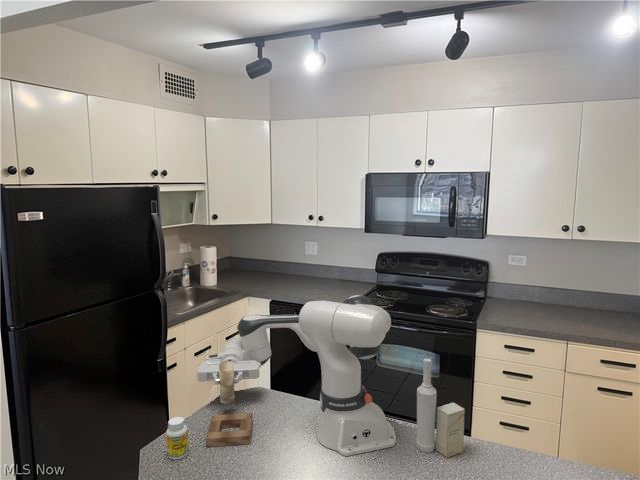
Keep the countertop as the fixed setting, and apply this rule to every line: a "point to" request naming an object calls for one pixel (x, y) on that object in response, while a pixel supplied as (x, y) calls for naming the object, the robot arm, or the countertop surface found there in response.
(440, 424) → the skincare box
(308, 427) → the countertop surface
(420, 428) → the bottle
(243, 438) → the socket block
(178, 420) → the supplement bottle
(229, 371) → the dowel
